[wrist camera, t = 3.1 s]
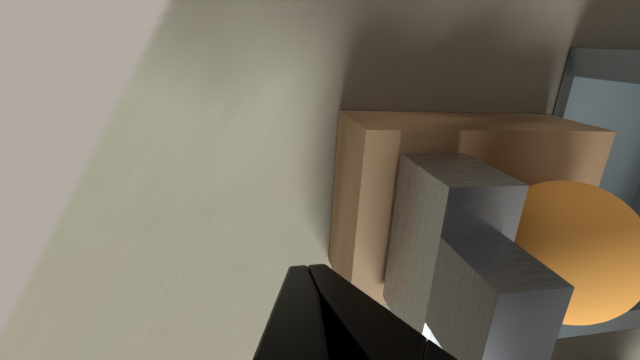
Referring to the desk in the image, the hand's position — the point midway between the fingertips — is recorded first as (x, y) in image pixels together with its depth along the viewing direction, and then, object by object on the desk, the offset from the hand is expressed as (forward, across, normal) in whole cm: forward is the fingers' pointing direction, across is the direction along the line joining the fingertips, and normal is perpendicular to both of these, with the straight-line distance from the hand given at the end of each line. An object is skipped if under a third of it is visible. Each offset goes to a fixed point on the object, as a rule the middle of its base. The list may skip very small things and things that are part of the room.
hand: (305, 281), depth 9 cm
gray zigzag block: (+2, -4, 0) cm, 5 cm away
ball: (0, -8, 0) cm, 8 cm away
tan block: (+5, -6, 0) cm, 8 cm away
